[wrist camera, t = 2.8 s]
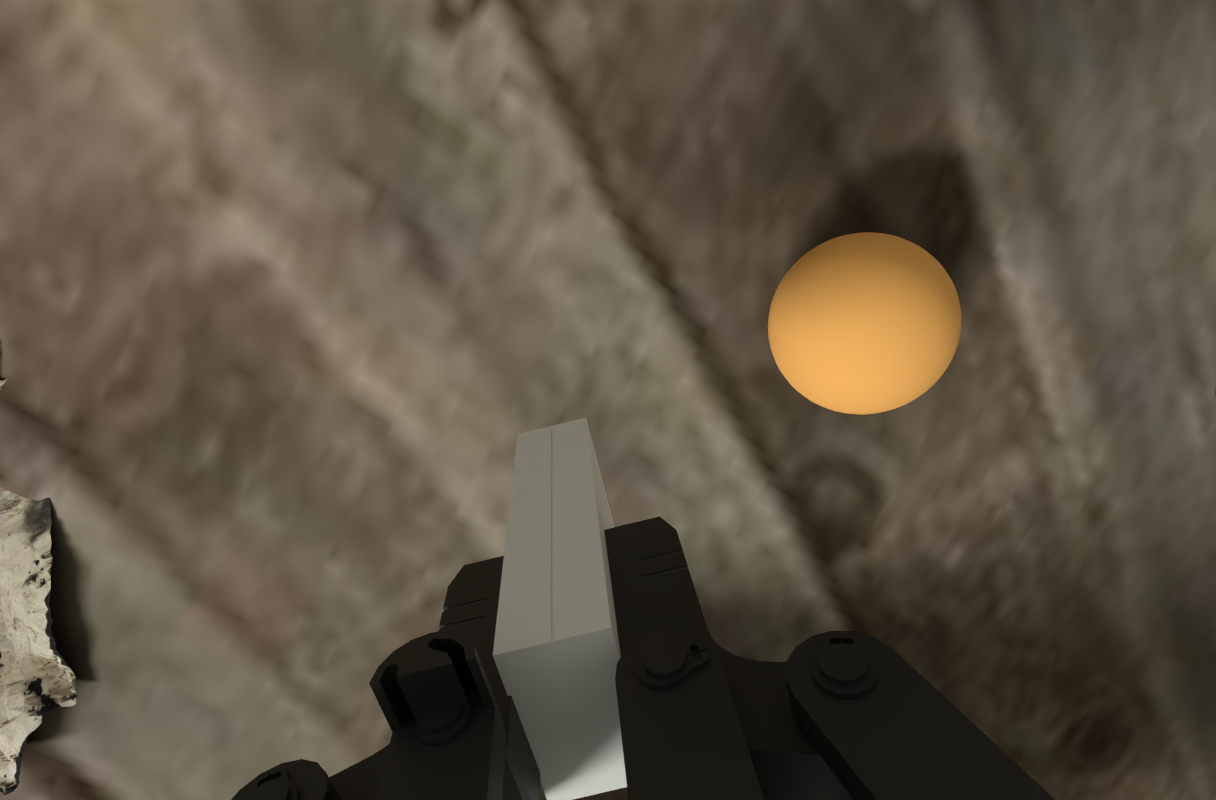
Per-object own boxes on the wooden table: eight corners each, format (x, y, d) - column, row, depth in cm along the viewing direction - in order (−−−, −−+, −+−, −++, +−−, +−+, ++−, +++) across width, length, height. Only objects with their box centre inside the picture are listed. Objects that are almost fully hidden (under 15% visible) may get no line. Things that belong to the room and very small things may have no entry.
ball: (908, 359, 24) (1005, 417, 19) (759, 396, 24) (815, 463, 19) (898, 205, 22) (1003, 223, 17) (735, 245, 22) (791, 274, 17)
